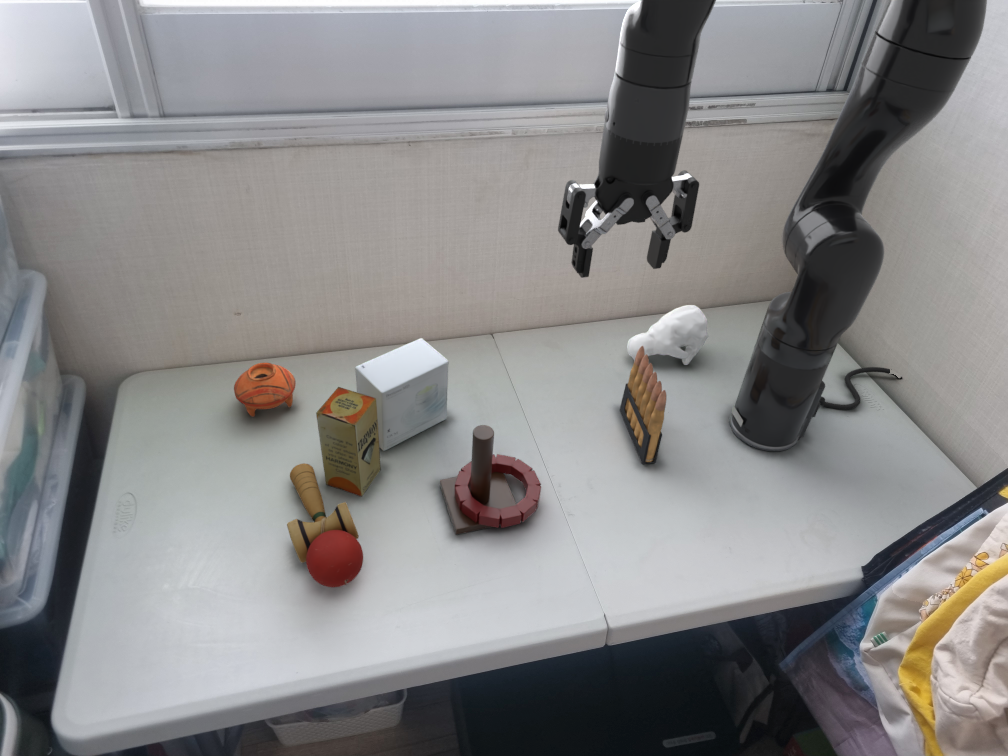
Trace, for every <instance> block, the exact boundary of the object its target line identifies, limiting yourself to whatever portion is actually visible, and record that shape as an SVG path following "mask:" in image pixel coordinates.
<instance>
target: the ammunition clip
mask: <svg viewBox="0 0 1008 756" xmlns="http://www.w3.org/2000/svg"><path fill="white" fill-rule="evenodd" d="M644 355H645V352H644V347H643V346H641V347H640V349H639V350H638V352H637V354H636V357H635V361H634V360H633V364H632V367H631V370H630V373H629V376H628V377H629V378H628V382H627V383H625V386H624V389H623V394H622V398H621V403H620V406H619V412H620V415H621V417H622V419H623V422H624V424H625V427H626V428H627V431H628V434H629V436H630V439H631V441H632V443H633V446H634V449H635V450H636V453H637V456H638V458H639V460H640V462H641V464H642V465H648V464H649V465H650V464H657V463H656V462H657V458H658V454H659V451H660V446H661V442H662V438H663V432H662V429H663V425H664V421H665V412H666V405H667V391H666V389H663V385H662V382H661V380H658V374H657V371H654V366H653V363H652V362H650V361H649V360H650V359H649V356H648V355H647V354H646V355H645V356H644Z"/></svg>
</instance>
